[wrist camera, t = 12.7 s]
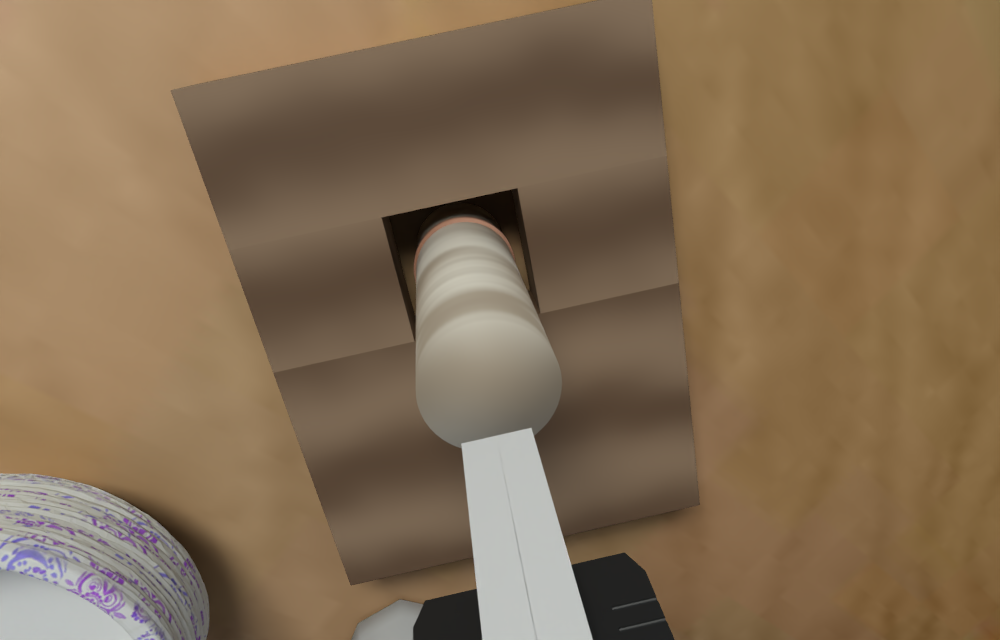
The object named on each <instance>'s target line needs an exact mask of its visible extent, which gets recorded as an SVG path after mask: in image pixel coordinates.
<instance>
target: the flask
mask: <svg viewBox="0 0 1000 640" xmlns="http://www.w3.org/2000/svg"><path fill="white" fill-rule="evenodd" d="M422 607H423V604H419V603H415V602H410V601H405V600H401V599H400V600H398V601H396V602H395V603H393V604H391V605H389V606H388V607H386V608H384V609H382V610H381V611H379V612H377V613H375V614H374V615H372V616H370V617H368V618H367V619H365V620H363V621H361V622H360V623H358V625H357V627H356V630H355V632H354V634H353V637H352V639H351V640H413V626H414V624H415V622H416V620H417V618H418V615H419V613H420V611H421V609H422Z"/></svg>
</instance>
